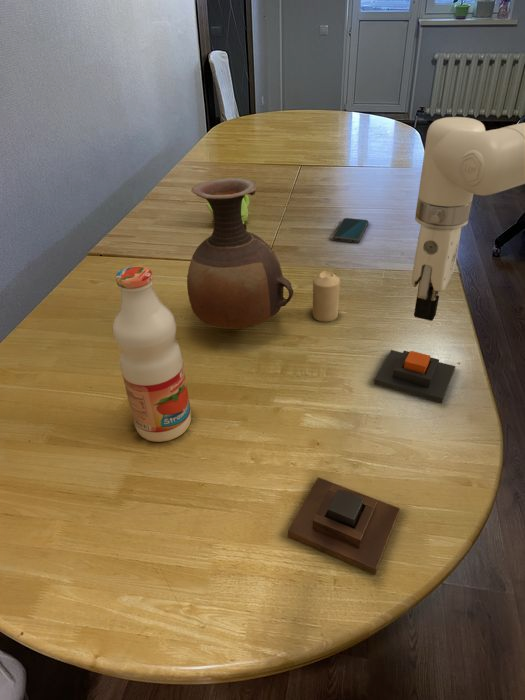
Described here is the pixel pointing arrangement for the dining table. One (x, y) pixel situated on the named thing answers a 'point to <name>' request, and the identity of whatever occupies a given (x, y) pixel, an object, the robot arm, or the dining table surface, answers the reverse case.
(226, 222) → the vase
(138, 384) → the fruit juice
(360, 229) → the smartphone
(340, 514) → the rocker switch
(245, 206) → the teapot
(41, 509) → the dining table surface
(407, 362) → the enter key
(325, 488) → the brown flat stepped block
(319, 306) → the candle
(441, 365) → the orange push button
